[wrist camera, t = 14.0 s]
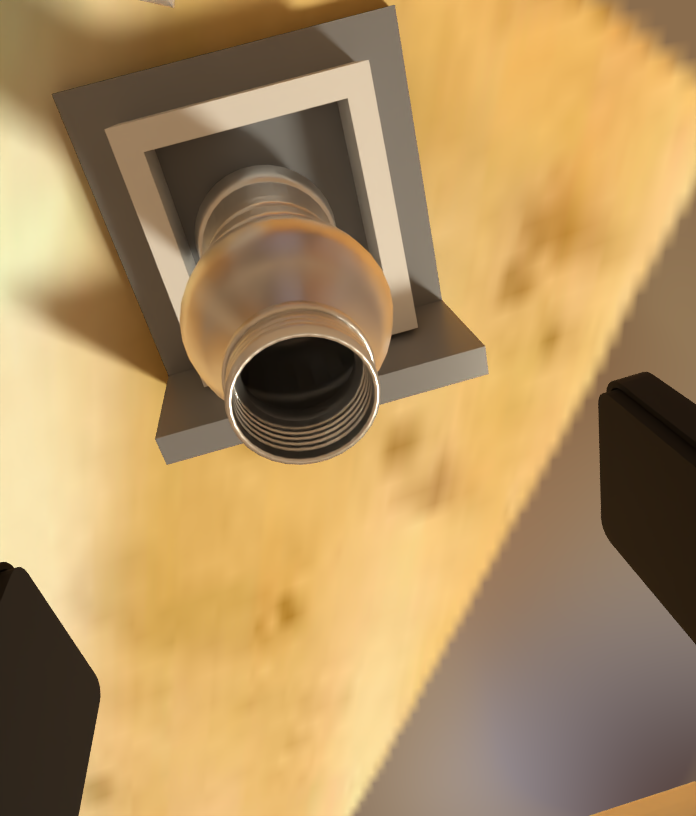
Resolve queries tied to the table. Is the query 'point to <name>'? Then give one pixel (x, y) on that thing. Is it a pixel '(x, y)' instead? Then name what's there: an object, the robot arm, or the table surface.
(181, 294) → the housing
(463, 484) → the table surface
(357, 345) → the plastic bottle
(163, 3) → the beige printed carton
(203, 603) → the table surface
